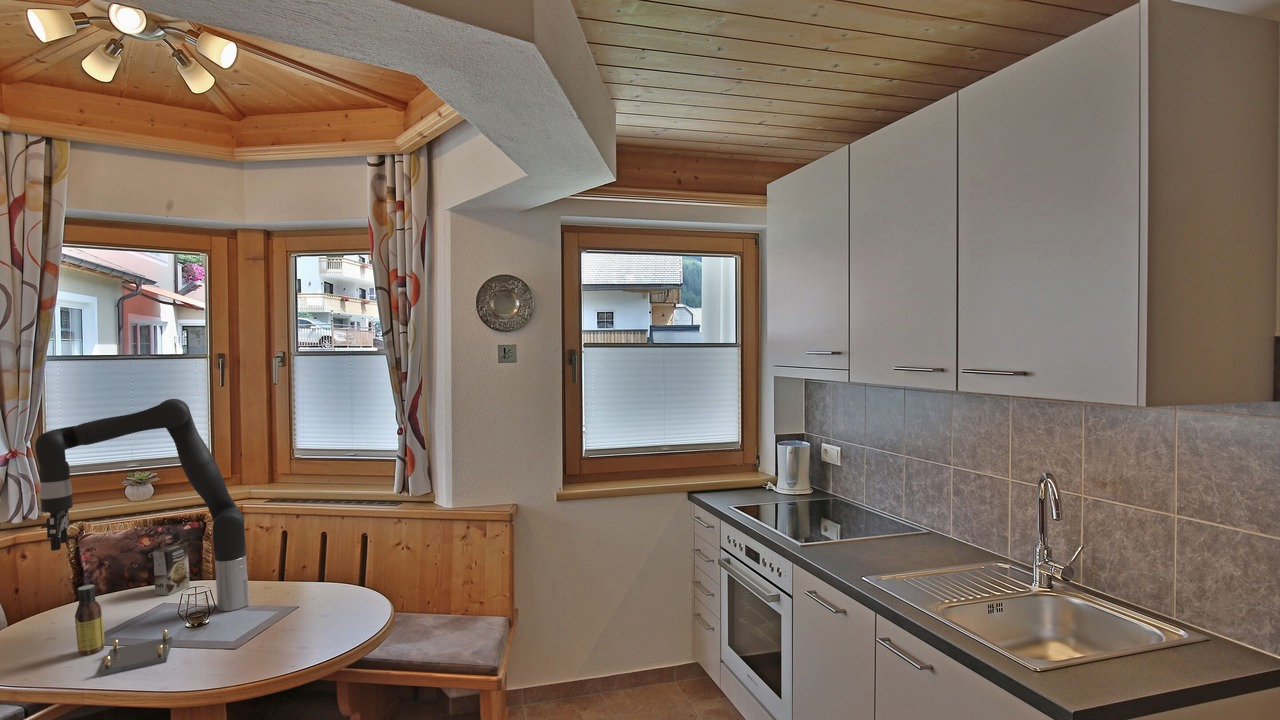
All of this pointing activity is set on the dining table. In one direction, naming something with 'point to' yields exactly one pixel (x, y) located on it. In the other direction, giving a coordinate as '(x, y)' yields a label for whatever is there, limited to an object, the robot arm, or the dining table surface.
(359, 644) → the dining table surface
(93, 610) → the sauce bottle
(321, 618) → the dining table surface
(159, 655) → the standoff plate
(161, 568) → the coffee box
